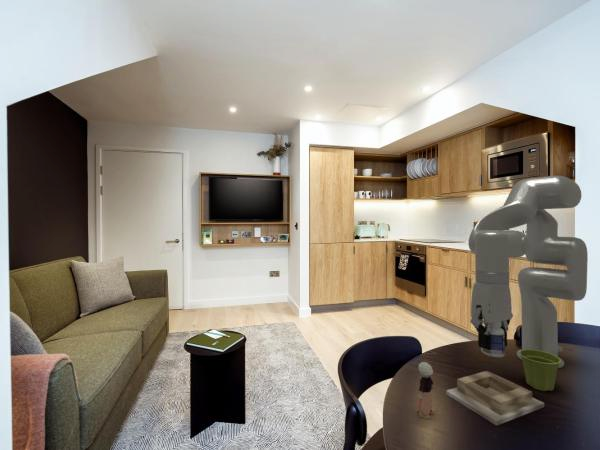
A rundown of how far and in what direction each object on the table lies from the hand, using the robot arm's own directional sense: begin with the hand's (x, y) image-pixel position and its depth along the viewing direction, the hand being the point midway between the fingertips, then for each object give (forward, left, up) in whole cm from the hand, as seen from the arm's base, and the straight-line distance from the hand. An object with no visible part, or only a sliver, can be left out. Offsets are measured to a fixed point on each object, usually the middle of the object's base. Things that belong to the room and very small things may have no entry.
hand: (492, 345), depth 79 cm
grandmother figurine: (+21, -3, -15) cm, 26 cm away
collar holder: (0, 0, -14) cm, 14 cm away
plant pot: (-19, 0, -15) cm, 24 cm away
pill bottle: (0, 0, -2) cm, 2 cm away
